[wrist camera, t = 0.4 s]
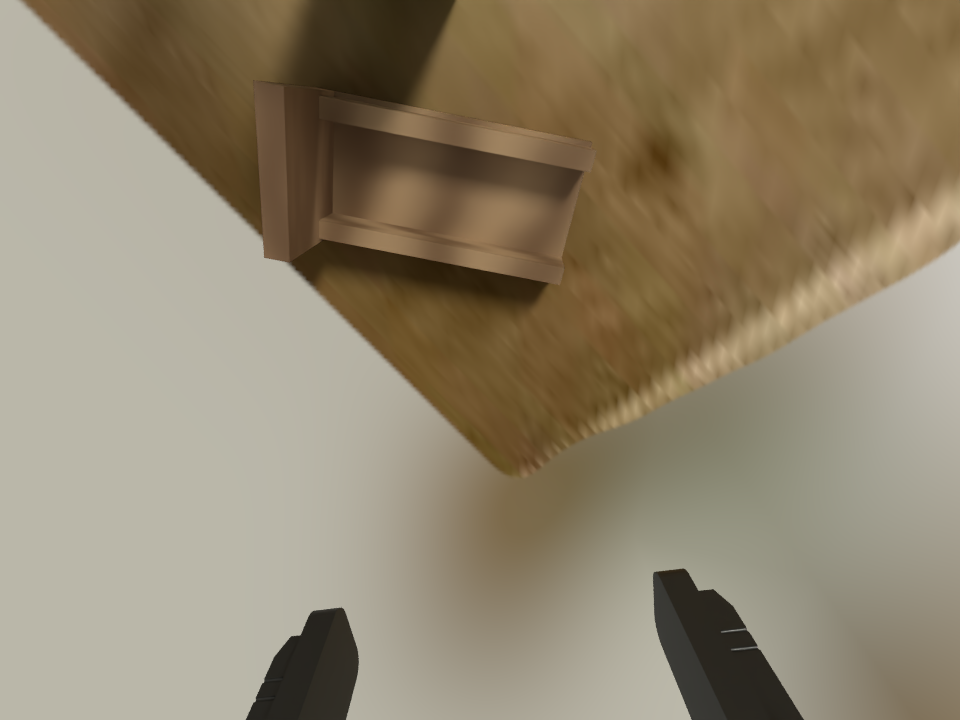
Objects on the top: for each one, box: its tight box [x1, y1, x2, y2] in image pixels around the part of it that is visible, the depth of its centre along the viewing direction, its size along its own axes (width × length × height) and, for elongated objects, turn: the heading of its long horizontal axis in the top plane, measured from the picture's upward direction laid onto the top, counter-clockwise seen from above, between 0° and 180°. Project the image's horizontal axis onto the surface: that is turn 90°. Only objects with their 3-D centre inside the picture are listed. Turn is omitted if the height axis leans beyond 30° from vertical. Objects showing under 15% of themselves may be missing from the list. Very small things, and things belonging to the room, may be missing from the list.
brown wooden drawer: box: [253, 80, 597, 285], centre depth 28 cm, size 18×9×8 cm, turn 80°
